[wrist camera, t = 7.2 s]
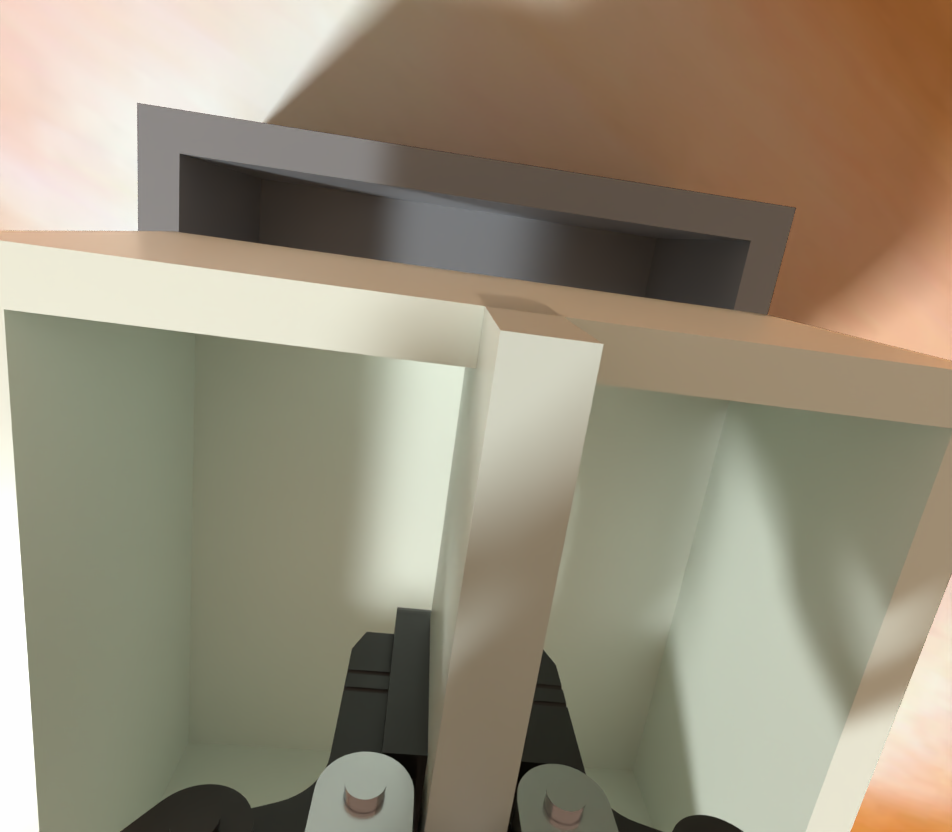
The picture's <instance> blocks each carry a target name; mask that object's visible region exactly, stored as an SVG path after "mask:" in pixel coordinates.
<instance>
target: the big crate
mask: <svg viewBox="0 0 952 832" xmlns="http://www.w3.org/2000/svg"><path fill="white" fill-rule="evenodd" d="M137 136H138V231H175V232H182V233H189V234H196V235H203V236H211V237H218V238H225V239H232V240H239V241H246V242H253V243H260V244H267V245H275V246H282V247H289V248H296V249H303V250H310V251H317V252H324V253H332V254H339V255H346V256H353V257H360V258H367V259H374V260H381V261H388V262H396V263H403V264H410V265H417V266H424V267H431V268H438V269H445V270H453V271H460V272H467V273H474V274H481V275H488V276H495V277H502V278H509V279H517V280H524V281H531V282H538V283H545V284H552V285H559V286H566V287H574V288H581V289H588V290H595V291H602V292H609V293H616V294H623V295H630V296H638V297H645V298H652V299H659V300H666V301H673V302H680V303H687V304H694V305H702V306H709V307H716V308H723V309H730V310H737V311H744V312H751V313H759V314H766V315H767V314H768V310H769V307H770V303H771V299H772V295H773V292H774V288H775V284H776V281H777V277H778V273H779V269H780V266H781V262H782V258H783V254H784V251H785V247H786V243H787V239H788V236H789V232H790V228H791V225H792V221H793V217H794V213H795V210H796V208H794V207H788V206H782V205H775V204H769V203H763V202H757V201H750V200H744V199H738V198H731V197H725V196H719V195H713V194H706V193H700V192H694V191H687V190H681V189H675V188H669V187H662V186H656V185H650V184H643V183H637V182H631V181H625V180H618V179H612V178H606V177H599V176H593V175H587V174H581V173H574V172H568V171H562V170H556V169H549V168H543V167H537V166H530V165H524V164H518V163H512V162H505V161H499V160H493V159H486V158H480V157H474V156H468V155H461V154H455V153H449V152H442V151H436V150H430V149H424V148H417V147H411V146H405V145H398V144H392V143H386V142H380V141H373V140H367V139H361V138H355V137H348V136H342V135H336V134H329V133H323V132H317V131H311V130H304V129H298V128H292V127H285V126H279V125H273V124H267V123H260V122H254V121H248V120H241V119H235V118H229V117H223V116H216V115H210V114H204V113H197V112H191V111H185V110H179V109H172V108H166V107H160V106H153V105H147V104H141V103H137Z"/></svg>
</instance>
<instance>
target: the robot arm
mask: <svg viewBox="0 0 952 832" xmlns="http://www.w3.org/2000/svg"><path fill="white" fill-rule="evenodd" d="M430 617H431V610H425V609H414V608H402V607H397V613H396V621H395V629H394V634H388V633H376V632H366V633H365V634H364V635H363V636H362V638H361V639H360V640H359V641H358V642H357V643H356V644H355V646H354V647H353V648H352V651H351V655H350V660H349V665H348V671H347V675H346V680H345V685H344V691H343V695H342V700H341V704H340V709H339V714H338V719H337V724H336V729H335V734H334V739H333V744H332V748H331V753H330V758H329V761H328V764H327V766H326V768H325V770H324V771H323V772H322V773H321V775H320V776H319V778H318V779H317V780H316V781H315V782H314V783H313V784H312V785H311V786H310V787H308V788H307V789H306V790H304V791H303V792H301V793H299V794H298V795H296V796H293V797H291V798H289V799H286V800H283V801H279V802H275V803H271V804H267V805H263V806H259V807H254V808H251V806H250V804H249V803H248V801H247V799H246V798H245V797H244V796H243V795H242V794H241V793H239V792H238V791H236V790H234V789H232V788H230V787H227V786H223V785H218V784H204V785H196V786H192V787H188V788H185V789H183V790H180V791H178V792H176V793H174V794H172V795H170V796H168V797H167V798H165V799H164V800H162V801H161V802H159V803H158V804H157V805H155V806H154V807H153V808H151V809H150V810H148V811H147V812H146V813H144V814H143V815H142V816H140V817H139V818H138V819H136V820H135V821H134V822H132V823H131V824H130V825H128V826H127V827H126V828H124V829H123V830H122V831H120V832H417V826H418V819H419V812H420V806H421V799H422V792H423V785H424V778H425V772H426V765H427V758H428V719H429V663H430ZM561 687H562V685H561V681H560V678H559V674H558V671H557V667H556V664H555V663H554V662H553V661H552V660H551V658H550V657H549V656H548V655H547V653H546V652H545V651H544V650H543V652H542V658H541V663H540V668H539V673H538V678H537V683H536V688H535V693H534V698H533V703H532V708H531V713H530V718H529V723H528V728H527V733H526V738H525V743H524V748H523V753H522V758H521V763H520V768H519V773H518V779H517V784H516V789H515V794H514V799H513V804H512V809H511V814H510V819H509V824H508V829H507V832H662V831H660V830H657V829H654V828H651V827H648V826H646V825H643V824H640V823H637V822H635V821H633V820H630V819H628V818H626V817H624V816H622V815H621V814H619V813H617V812H616V811H615V810H613V809H612V808H611V805H610V803H609V800H608V798H607V796H606V795H605V793H604V791H603V790H602V789H601V788H600V786H599V785H598V784H597V783H596V782H595V781H594V780H593V779H591V778H590V777H589V776H587V775H586V773H585V769H584V765H583V762H582V758H581V755H580V751H579V747H578V744H577V740H576V736H575V733H574V729H573V725H572V722H571V718H570V714H569V711H568V707H566V700H565V696H564V692H563V690H562V689H561ZM672 832H743V831H742V830H740V829H739V828H737V827H736V826H734V825H732V824H730V823H728V822H726V821H724V820H722V819H719V818H716V817H712V816H708V815H691V816H688V817H685V818H683V819H682V820H680V821H679V822H678V823H677V824H676V825H675V827H674V829H673V831H672Z"/></svg>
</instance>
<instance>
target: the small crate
mask: <svg viewBox="0 0 952 832" xmlns="http://www.w3.org/2000/svg"><path fill="white" fill-rule="evenodd" d="M951 575H952V361H951V360H947V359H943V358H939V357H935V356H931V355H927V354H923V353H919V352H915V351H911V350H907V349H903V348H899V347H895V346H890V345H886V344H882V343H878V342H874V341H870V340H866V339H862V338H858V337H854V336H850V335H846V334H842V333H838V332H834V331H830V330H826V329H822V328H818V327H814V326H810V325H806V324H802V323H798V322H794V321H790V320H786V319H782V318H778V317H774V316H770V315H766V314H759V313H751V312H744V311H737V310H730V309H723V308H716V307H709V306H702V305H694V304H687V303H680V302H673V301H666V300H659V299H652V298H645V297H638V296H630V295H623V294H616V293H609V292H602V291H595V290H588V289H581V288H574V287H566V286H559V285H552V284H545V283H538V282H531V281H524V280H517V279H509V278H502V277H495V276H488V275H481V274H474V273H467V272H460V271H453V270H445V269H438V268H431V267H424V266H417V265H410V264H403V263H396V262H388V261H381V260H374V259H367V258H360V257H353V256H346V255H339V254H332V253H324V252H317V251H310V250H303V249H296V248H289V247H282V246H275V245H267V244H260V243H253V242H246V241H239V240H232V239H225V238H218V237H211V236H203V235H196V234H189V233H182V232H175V231H0V832H120V831H122V830H123V829H124V828H126V827H127V826H128V825H130V824H131V823H132V822H134V821H135V820H136V819H138V818H139V817H140V816H142V815H143V814H144V813H146V812H147V811H148V810H150V809H151V808H153V807H154V806H155V805H157V804H158V803H159V802H161V801H162V800H164V799H165V798H167V797H168V796H170V795H172V794H174V793H176V792H178V791H180V790H183V789H185V788H188V787H192V786H196V785H204V784H218V785H223V786H227V787H230V788H232V789H234V790H236V791H238V792H239V793H241V794H242V795H243V796H244V797H245V798H246V799H247V801H248V803H249V804H250V806H251V808H254V807H259V806H263V805H267V804H271V803H275V802H279V801H283V800H286V799H289V798H291V797H293V796H296V795H298V794H299V793H301V792H303V791H304V790H306V789H307V788H308V787H310V786H311V785H312V784H313V783H314V782H315V781H316V780H317V779H318V778H319V776H320V775H321V773H322V772H323V771H324V770H325V768H326V766H327V764H328V761H329V758H330V753H331V748H332V744H333V739H334V734H335V729H336V724H337V719H338V714H339V709H340V704H341V700H342V695H343V691H344V685H345V680H346V675H347V671H348V665H349V660H350V655H351V651H352V648H353V647H354V646H355V644H356V643H357V642H358V641H359V640H360V639H361V638H362V636H363V635H364V634H365V633H366V632H376V633H388V634H394V629H395V621H396V613H397V607H402V608H414V609H425V610H431V617H430V663H429V719H428V758H427V765H426V772H425V778H424V785H423V792H422V799H421V806H420V812H419V819H418V826H417V832H507V829H508V824H509V819H510V814H511V809H512V804H513V799H514V794H515V789H516V784H517V779H518V773H519V768H520V763H521V758H522V753H523V748H524V743H525V738H526V733H527V728H528V723H529V718H530V713H531V708H532V703H533V698H534V693H535V688H536V683H537V678H538V673H539V668H540V663H541V658H542V652H543V650H544V651H545V652H546V653H547V655H548V656H549V657H550V658H551V660H552V661H553V662H554V663H555V664H556V667H557V671H558V674H559V678H560V681H561V685H562V687H561V689H562V690H563V692H564V696H565V700H566V707H568V711H569V714H570V718H571V722H572V725H573V729H574V733H575V736H576V740H577V744H578V747H579V751H580V755H581V758H582V762H583V765H584V769H585V773H586V775H587V776H589V777H590V778H591V779H593V780H594V781H595V782H596V783H597V784H598V785H599V786H600V788H601V789H602V790H603V791H604V793H605V795H606V796H607V798H608V800H609V803H610V805H611V808H612V809H613V810H615V811H616V812H617V813H619V814H621V815H622V816H624V817H626V818H628V819H630V820H633V821H635V822H637V823H640V824H643V825H646V826H648V827H651V828H654V829H657V830H660V831H662V832H672V831H673V829H674V827H675V825H676V824H677V823H678V822H679V821H680V820H682V819H683V818H685V817H688V816H691V815H708V816H712V817H716V818H719V819H722V820H724V821H726V822H728V823H730V824H732V825H734V826H736V827H737V828H739V829H740V830H742V831H743V832H850V831H851V828H852V826H853V823H854V821H855V818H856V816H857V813H858V811H859V808H860V806H861V803H862V801H863V798H864V795H865V793H866V790H867V788H868V785H869V783H870V780H871V778H872V775H873V773H874V770H875V768H876V765H877V762H878V760H879V757H880V755H881V752H882V750H883V747H884V745H885V742H886V740H887V737H888V735H889V732H890V729H891V727H892V724H893V722H894V719H895V717H896V714H897V712H898V709H899V707H900V704H901V701H902V699H903V696H904V694H905V691H906V689H907V686H908V684H909V681H910V679H911V676H912V674H913V671H914V668H915V666H916V663H917V661H918V658H919V656H920V653H921V651H922V648H923V646H924V643H925V641H926V638H927V635H928V633H929V630H930V628H931V625H932V623H933V620H934V618H935V615H936V613H937V610H938V608H939V605H940V602H941V600H942V597H943V595H944V592H945V590H946V587H947V585H948V582H949V580H950V577H951Z"/></svg>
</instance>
